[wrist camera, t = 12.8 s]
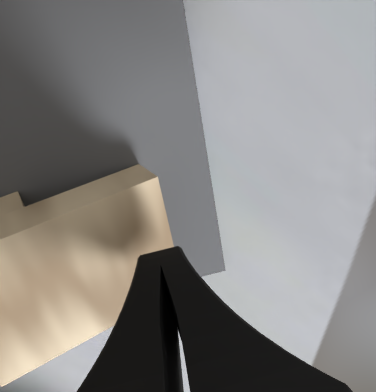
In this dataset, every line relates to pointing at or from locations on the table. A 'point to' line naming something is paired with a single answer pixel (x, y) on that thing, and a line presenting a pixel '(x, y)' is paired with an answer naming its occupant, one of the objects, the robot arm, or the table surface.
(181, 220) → the domino mat
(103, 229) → the domino
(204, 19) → the table surface
